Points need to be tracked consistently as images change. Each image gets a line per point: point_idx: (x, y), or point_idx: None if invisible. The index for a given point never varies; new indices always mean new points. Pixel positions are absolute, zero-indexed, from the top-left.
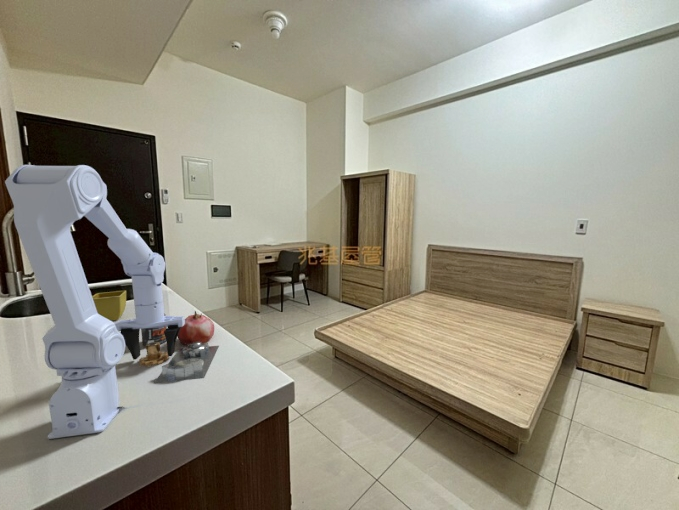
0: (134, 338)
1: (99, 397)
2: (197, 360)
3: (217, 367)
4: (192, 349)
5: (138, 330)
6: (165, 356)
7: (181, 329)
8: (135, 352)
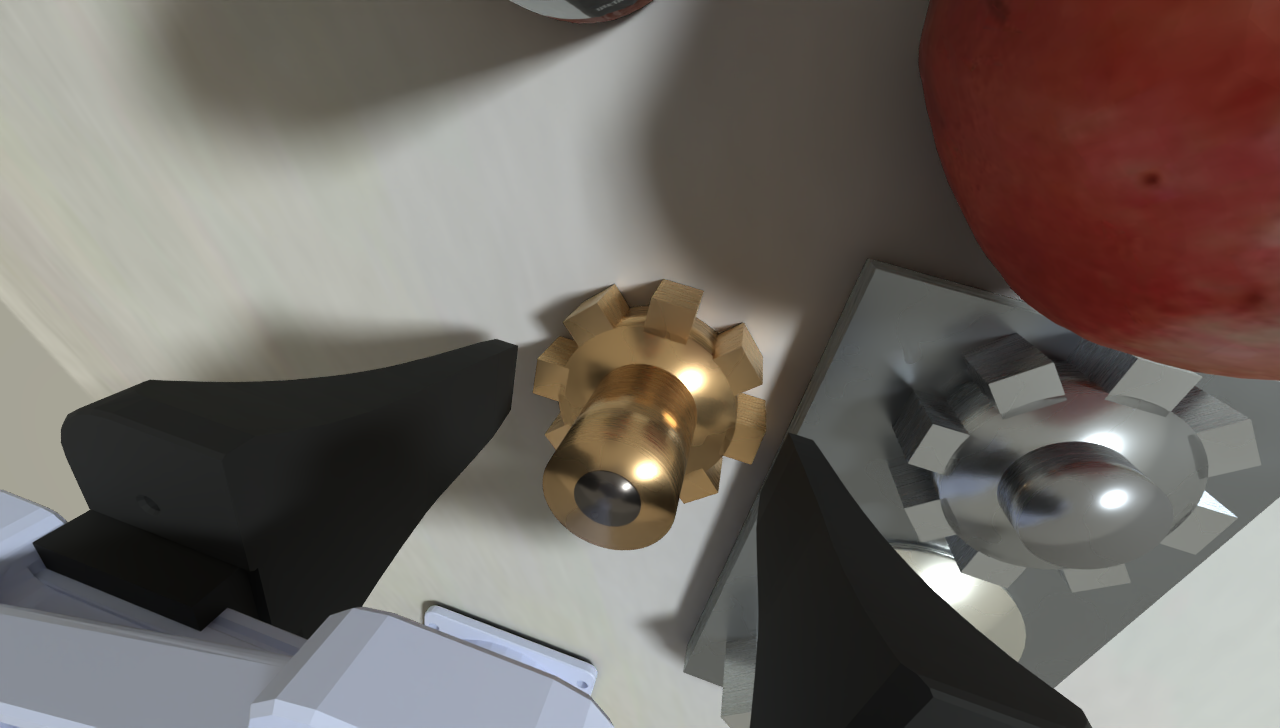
0: (374, 523)
1: None
2: (983, 612)
3: (1090, 666)
4: (1005, 525)
5: (309, 467)
6: (735, 443)
7: (1065, 197)
8: (477, 440)
